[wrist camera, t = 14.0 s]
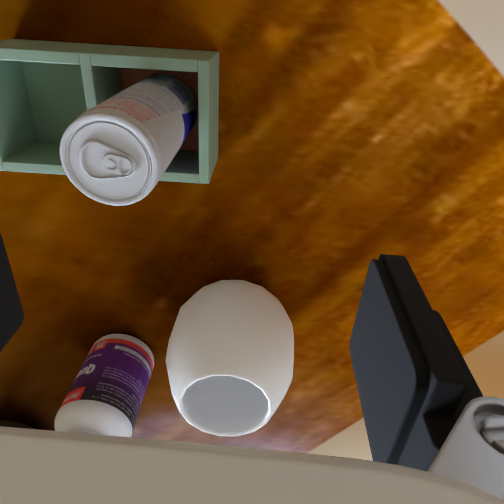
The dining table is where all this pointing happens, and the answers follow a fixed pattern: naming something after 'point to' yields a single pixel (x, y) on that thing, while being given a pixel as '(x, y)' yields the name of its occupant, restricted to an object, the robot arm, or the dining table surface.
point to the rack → (96, 99)
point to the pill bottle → (108, 388)
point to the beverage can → (128, 140)
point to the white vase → (230, 357)
